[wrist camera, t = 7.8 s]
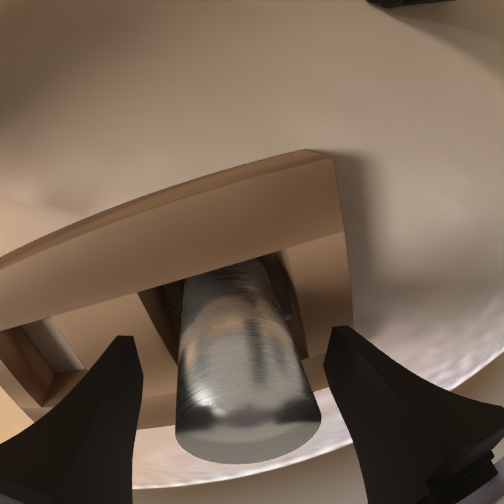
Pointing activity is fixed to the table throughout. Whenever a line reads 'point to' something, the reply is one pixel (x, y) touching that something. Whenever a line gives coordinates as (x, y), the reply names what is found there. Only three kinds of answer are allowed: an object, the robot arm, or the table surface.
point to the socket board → (175, 275)
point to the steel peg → (239, 371)
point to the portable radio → (402, 2)
